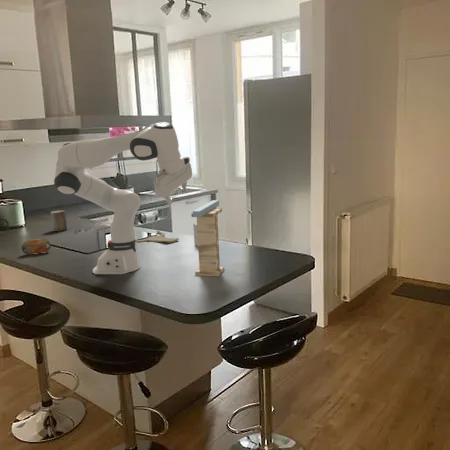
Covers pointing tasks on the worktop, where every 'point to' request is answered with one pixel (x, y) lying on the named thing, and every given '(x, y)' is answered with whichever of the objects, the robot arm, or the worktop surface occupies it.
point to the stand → (208, 244)
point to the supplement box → (195, 234)
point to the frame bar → (205, 208)
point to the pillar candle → (58, 220)
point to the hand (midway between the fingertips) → (177, 197)
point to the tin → (36, 246)
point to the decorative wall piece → (159, 239)
